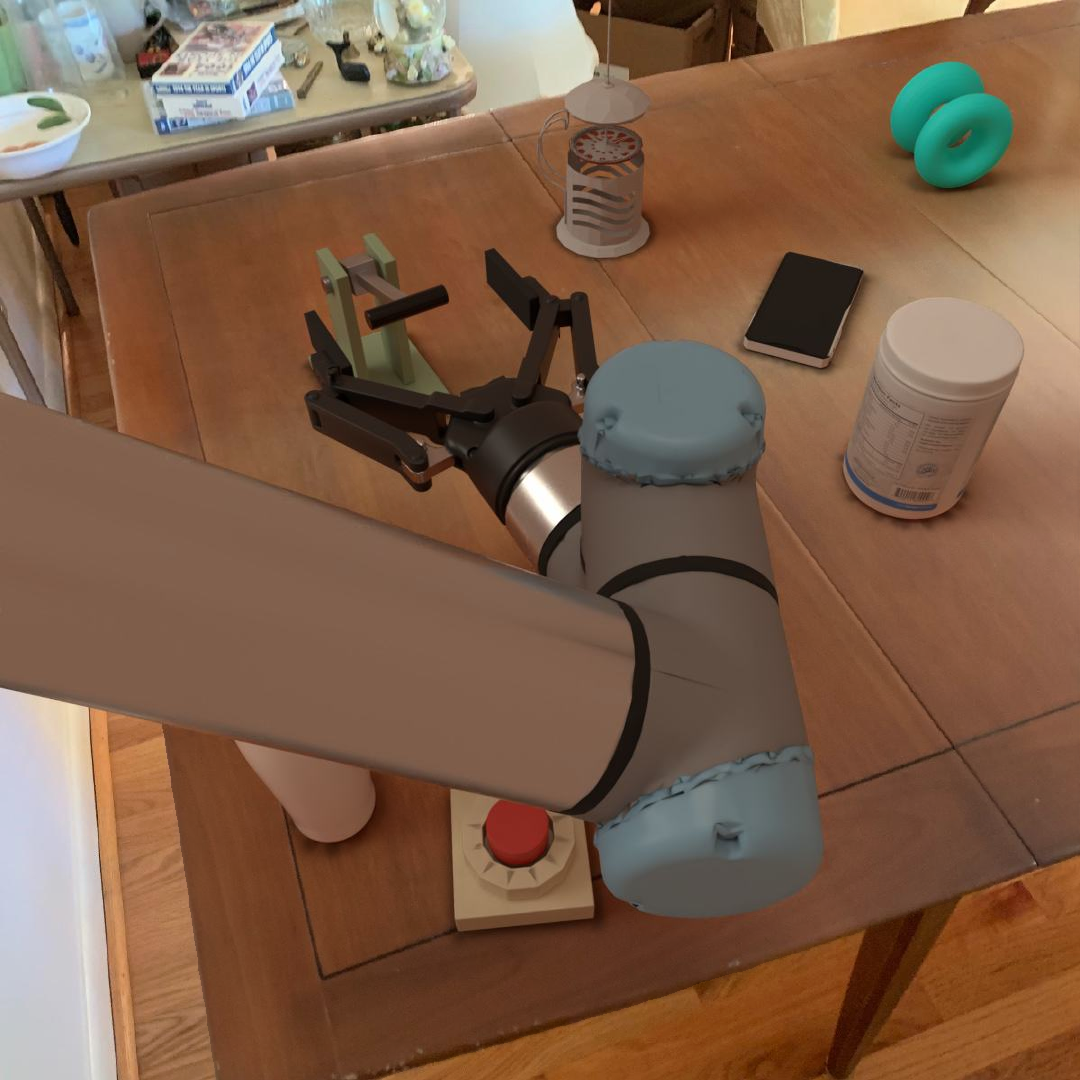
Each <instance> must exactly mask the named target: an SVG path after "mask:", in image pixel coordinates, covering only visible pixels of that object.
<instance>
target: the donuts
mask: <svg viewBox="0 0 1080 1080" xmlns="http://www.w3.org/2000/svg"><path fill="white" fill-rule="evenodd" d="M985 92H986V91H985V85H984V82H983V79H982V77H981V75H980V74H979V72H978V71H976V69H975V68H973V67H972V66H971V65H969V64H966V63H965V62H964V63H963V62H961V61H944V62H939V63H936V64H932V65H930V66H928V67H926V68H924V69H923V70H921V71H920V72H918V73H917V74H915V75H914V76H913V77H912V78H911V79H910V80H909V81H907V82H906V84H905V85H904V86H903V87H902V89H901V90H900V92H899V93H898V94H897V96H896V99H894V102H893V104H892V105H893V106H892V108H891V113H890V116H889V117H890V118H889V123H890V124H889V126H890V132H891V135H892V138H893V139H894V141H895V142H896V144H897V145H898V146H899V147H900V148H901V149H903V150H905V151H906V152H908V153H911V154H913V161H914V165H915V168H916V171H917V173H918V174H919V176H920V177H921V178H922V179H923V180H924V182H926V183H928V184H929V185H931V186H933V187H936V188H942V189H955V188H961V187H963V186H966V185H969V184H972V183H974V182H975V181H977V180H979V179H980V178H982V177H983V176H985V175H986V174H988V173H989V172H990V171H991V170H992V169H993V168H994V167H995V166H997V164H998V163H999V162H1000V161H1001V159H1002V158H1003V156H1004V155H1005V153H1006V152H1007V150H1008V148H1009V146H1010V144H1011V140H1012V138H1013V132H1014V119H1013V115H1012V113H1011V110H1010V108H1009V106H1008V105H1007V104H1006V103H1005V102H1004V101H1003V100H1002V99H1001V98H999V97H997V96H995V95H992V94H990V93H985ZM940 106H941V107H940ZM937 109H938V110H937ZM969 132H970V133H969ZM967 134H969V135H968V137H967V138H966V139H965V140H964V141H963V142H961V143H960V144H959V145H957V146H954V145H956V144H957V143H958V142H960V141H961V140H963V138H964V137H965V136H967ZM953 146H954V147H953Z"/></svg>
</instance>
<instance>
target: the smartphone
mask: <svg viewBox="0 0 1080 1080" xmlns="http://www.w3.org/2000/svg"><path fill="white" fill-rule="evenodd" d="M864 273H865V270H864V269H863V267H858V266H854V265H851V264H850V265H849V264H845V263H841V262H837V261H833V260H828V259H825V258H821V257H815V256H811V255H807V254H801V253H798V252H794V251H788V252H786V253H785V254H784V256H783V258H782V259H781V262H780V264H779V266H778V268H777V269H776V272H775V274H774V276H773V278H772V280H771V281H770V284H769V286H768V288H767V290H766V292H765V294H764V296H763V298H762V300H761V302H760V304H759V306H758V308H757V310H756V311H755V312H754V314H753V316H752V318H751V320H750V322H749V323H748V325H747V330H746V332H745V334H744V336H743V337H744V338H743V342H742V343H743V347H745V349H746V350H751V351H754V352H757V353H762V354H766V355H769V356H774V357H776V358H781V359H785V360H788V361H791V362H795V363H796V362H797V363H801V364H804V365H808V366H811V367H816V368H819V369H822V368H825V367H828V365H829V362H830V361H832V359H833V356H834V354H835V352H836V349H837V348H838V347H837V346H838V344H839V342H840V339H841V336H842V333H843V329H844V325H845V323H846V320H847V318H848V315H849V313H850V310H851V307H852V305H853V303H854V301H855V297H856V295H857V292H858V290H859V288H860V285H861V282H862V281H863V277H864Z"/></svg>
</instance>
